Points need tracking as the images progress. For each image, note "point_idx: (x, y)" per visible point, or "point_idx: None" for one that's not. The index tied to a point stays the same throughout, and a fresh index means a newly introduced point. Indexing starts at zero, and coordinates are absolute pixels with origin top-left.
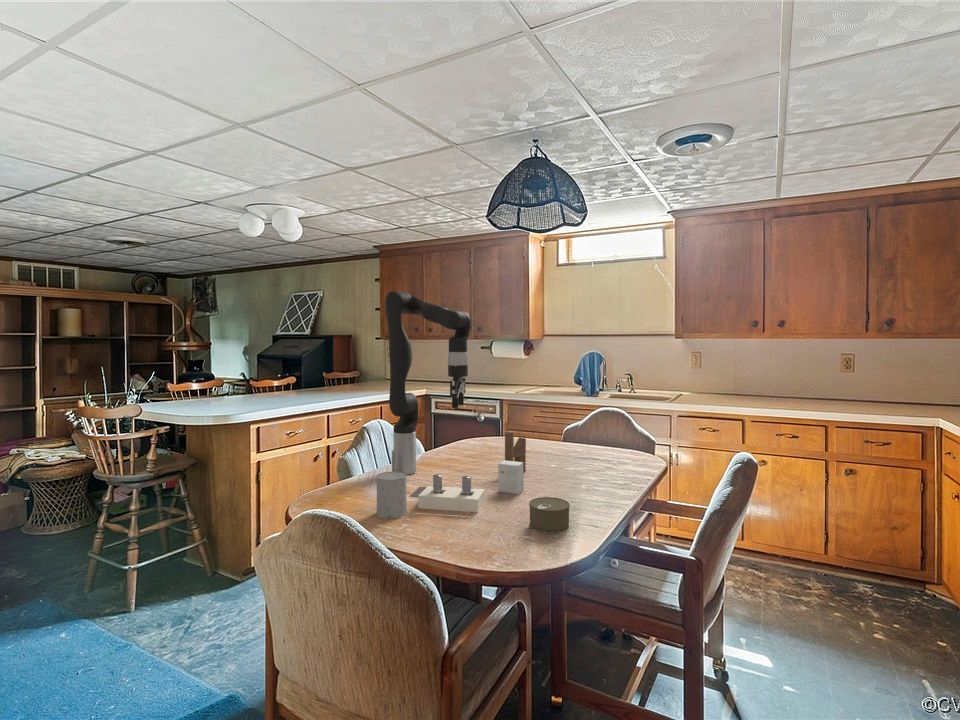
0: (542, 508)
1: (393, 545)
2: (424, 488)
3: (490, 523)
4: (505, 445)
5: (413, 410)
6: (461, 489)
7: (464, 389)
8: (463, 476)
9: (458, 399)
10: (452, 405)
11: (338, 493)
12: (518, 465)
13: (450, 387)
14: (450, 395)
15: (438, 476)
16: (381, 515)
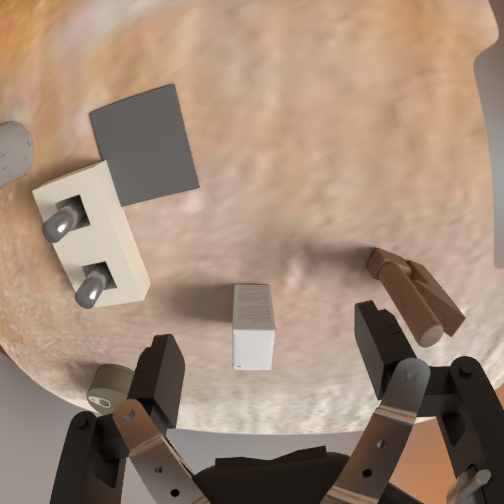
0: (91, 400)
1: None
2: (164, 105)
3: (75, 321)
4: (406, 301)
5: None
6: (113, 256)
7: (441, 432)
8: (82, 292)
9: (369, 339)
10: (151, 348)
11: None
12: (236, 369)
13: (56, 488)
14: (73, 423)
15: (47, 238)
16: None
